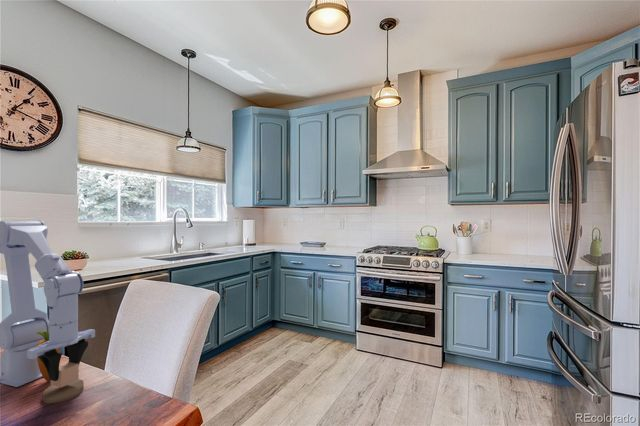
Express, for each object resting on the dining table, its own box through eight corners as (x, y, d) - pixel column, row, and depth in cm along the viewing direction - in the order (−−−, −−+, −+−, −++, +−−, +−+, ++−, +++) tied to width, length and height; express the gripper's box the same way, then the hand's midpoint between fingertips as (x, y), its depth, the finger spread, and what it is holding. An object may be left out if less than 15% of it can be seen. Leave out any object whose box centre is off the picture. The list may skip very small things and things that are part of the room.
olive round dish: (35, 401, 78) (35, 392, 78) (70, 384, 85) (70, 377, 85) (56, 407, 75) (56, 398, 75) (91, 389, 82) (91, 381, 82)
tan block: (50, 384, 79) (50, 368, 79) (67, 377, 82) (67, 361, 83) (61, 387, 77) (61, 371, 77) (78, 379, 81) (78, 363, 81)
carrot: (46, 386, 83) (46, 329, 84) (31, 384, 84) (31, 328, 85) (65, 377, 88) (65, 323, 89) (50, 375, 89) (50, 322, 90)
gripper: (41, 333, 72) (41, 393, 72) (103, 314, 86) (103, 365, 86) (21, 330, 74) (21, 388, 74) (84, 312, 88) (84, 361, 88)
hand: (63, 375), depth 80 cm, fingers closed on tan block, 4 cm apart
